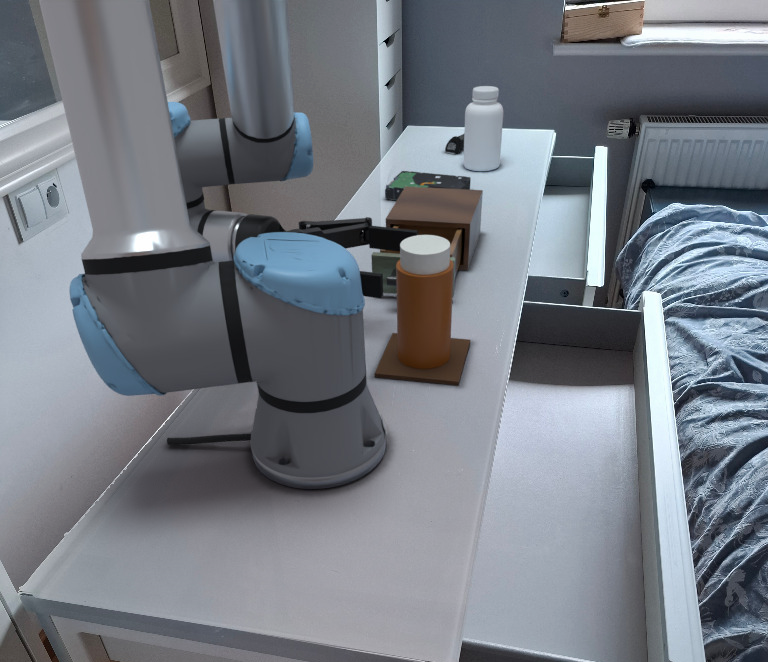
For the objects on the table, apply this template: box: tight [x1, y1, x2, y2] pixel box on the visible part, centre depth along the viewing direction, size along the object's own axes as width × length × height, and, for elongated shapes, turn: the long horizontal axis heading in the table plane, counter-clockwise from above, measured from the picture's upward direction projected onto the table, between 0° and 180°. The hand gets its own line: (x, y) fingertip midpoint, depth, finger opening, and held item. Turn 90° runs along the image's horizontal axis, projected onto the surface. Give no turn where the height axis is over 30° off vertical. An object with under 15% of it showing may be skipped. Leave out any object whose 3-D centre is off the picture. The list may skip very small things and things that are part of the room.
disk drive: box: [384, 170, 471, 201], centre depth 143 cm, size 10×3×15 cm
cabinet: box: [385, 187, 484, 271], centre depth 121 cm, size 16×14×8 cm
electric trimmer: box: [444, 133, 464, 155], centre depth 167 cm, size 4×16×3 cm, turn 142°
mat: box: [374, 332, 471, 386], centre depth 96 cm, size 11×11×1 cm
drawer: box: [370, 224, 464, 299], centre depth 110 cm, size 19×12×6 cm, turn 167°
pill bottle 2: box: [462, 85, 504, 172], centre depth 151 cm, size 8×8×15 cm
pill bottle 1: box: [396, 235, 454, 369], centre depth 91 cm, size 7×7×15 cm
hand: (400, 263), depth 88 cm, fingers open, 13 cm apart
